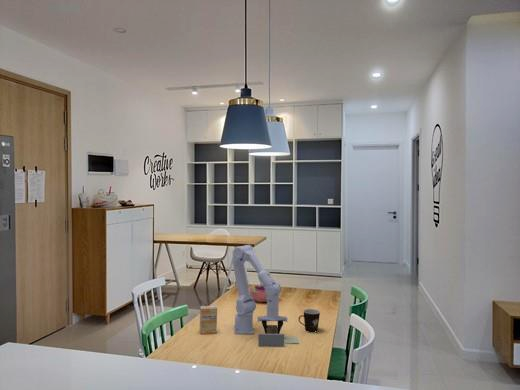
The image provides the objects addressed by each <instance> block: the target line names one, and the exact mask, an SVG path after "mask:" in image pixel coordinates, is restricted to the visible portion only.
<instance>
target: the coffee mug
mask: <svg viewBox="0 0 520 390" xmlns="http://www.w3.org/2000/svg"><path fill="white" fill-rule="evenodd" d="M320 314H321V311H320V310H318V309H314V308H308V309H303V315H299V317H298V322H299V323H300V324H301V325H303V326H304V331H305V330H306V331H309V332H315V331H317V330H319V329H318V328H319V323H320ZM301 317H303V321H304V323H303V322H301V320H300V319H301ZM306 331H305V332H306ZM309 332H308V333H309ZM317 332H318V331H317ZM315 333H316V332H315Z"/></svg>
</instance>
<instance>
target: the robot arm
mask: <svg viewBox="0 0 520 390" xmlns="http://www.w3.org/2000/svg"><path fill="white" fill-rule="evenodd" d="M232 256H233V257H232V265H233V271H234V279H235V283H236V287H237V293H238V294H237V295H238V297H237V299H236V300H235V303H236V306H235V310H236V313H235V314H234V325H233V329H234V334H236V335H237V334H241V335H242V334H243V335H253V334H254V327H253V326H254V323H253V322H254V321H253V320H254V318H253V317H254V311H255V310H256V308H257V304H256V301H255V300H254V299H253V297H252V296H251V295H250V293H249V286H248V280H247V275H246V269H245V263H246V262H249V263H250V265H251V266H252V267H253V268H254V270H255V271H256V272H257V274H258V275H257V278H258V280H259V281H260V282H261V285H262V286H264V287H265V294H266V296H267V302H266V315H261V316H257V323H258V322H261V324H262V327H263V329H264V334H267V325H268V322H277V328H278V334H281V333H280V332H281V330H282V327H283V326H284V323H288V317H287V316H282V315H279V301H280V299H279V297H280V295H279V294H280V293H281V292H282V287H281V284H280V283H279V282H277V281H276V280H274V279H273V277H272V276H271V273H270V271H268V270H265V269H264V267H263V265H262V264H261V262H260V260H259V258H258V256H257V255H256V251H255V249H254V247H253V246H252V245H251V244H246V245H241V246H235V247H234V249H233V250H232Z"/></svg>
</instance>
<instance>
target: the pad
mask: <svg viewBox="0 0 520 390" xmlns="http://www.w3.org/2000/svg"><path fill="white" fill-rule="evenodd" d="M284 343H299V344H300V341H299V338H298V337H296V336H295V337H293V336H284Z"/></svg>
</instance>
